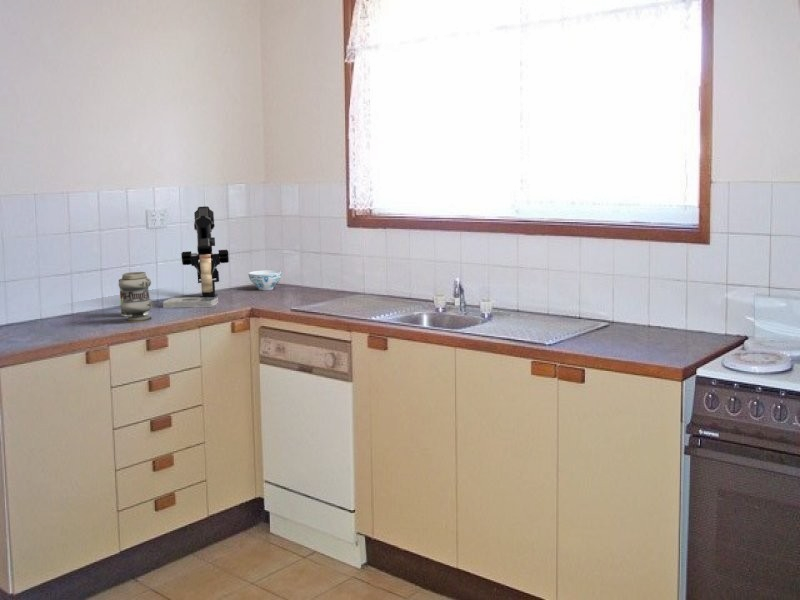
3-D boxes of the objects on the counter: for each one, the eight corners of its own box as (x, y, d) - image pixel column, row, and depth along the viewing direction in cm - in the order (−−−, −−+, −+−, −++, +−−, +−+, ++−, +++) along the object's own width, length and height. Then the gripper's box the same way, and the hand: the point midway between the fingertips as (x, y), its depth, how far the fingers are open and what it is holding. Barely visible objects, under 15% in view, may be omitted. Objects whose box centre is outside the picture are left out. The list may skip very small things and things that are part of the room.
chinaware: (271, 285, 443) (270, 269, 442) (289, 288, 432) (288, 271, 431) (243, 289, 434) (242, 272, 432) (260, 292, 422) (259, 275, 421)
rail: (171, 304, 397) (170, 298, 396) (218, 303, 395) (217, 297, 394) (163, 307, 387) (162, 301, 386) (211, 307, 385) (211, 300, 385)
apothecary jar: (120, 319, 362) (116, 272, 360) (152, 316, 366) (149, 269, 364) (122, 324, 351) (119, 275, 348) (156, 321, 355) (152, 273, 353)
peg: (205, 290, 390) (203, 254, 387) (215, 290, 388) (212, 254, 386) (199, 292, 385) (197, 255, 383) (209, 292, 384) (207, 255, 382)
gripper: (180, 232, 385) (180, 262, 376) (226, 229, 388) (228, 259, 379) (182, 249, 394) (182, 279, 385) (227, 247, 397) (229, 276, 388)
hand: (206, 273), depth 384 cm, fingers closed on peg, 4 cm apart
